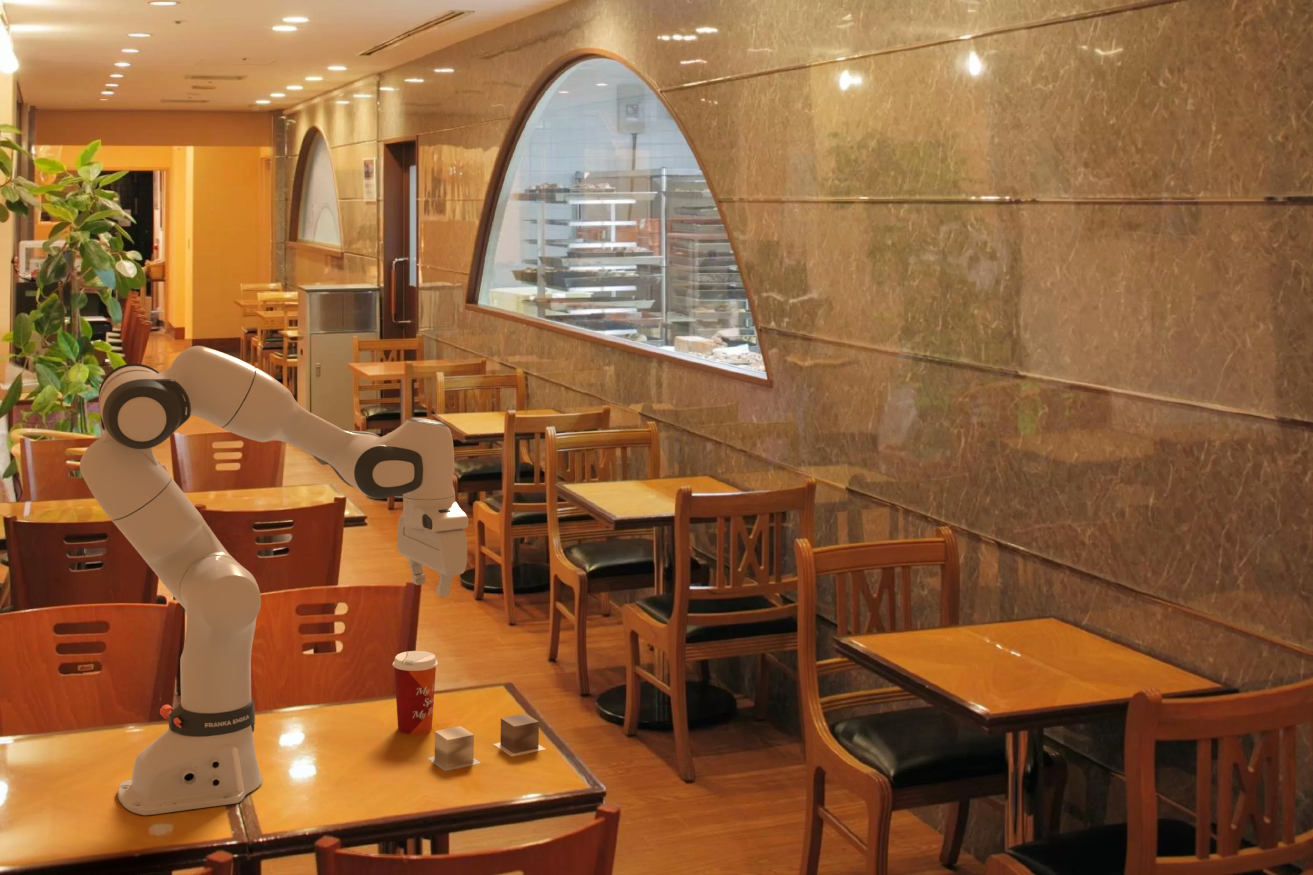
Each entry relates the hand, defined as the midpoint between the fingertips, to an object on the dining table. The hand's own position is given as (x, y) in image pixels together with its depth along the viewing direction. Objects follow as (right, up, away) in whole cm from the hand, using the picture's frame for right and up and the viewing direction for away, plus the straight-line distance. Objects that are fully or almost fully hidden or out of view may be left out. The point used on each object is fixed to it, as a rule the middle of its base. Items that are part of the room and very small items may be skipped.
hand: (430, 589), depth 233 cm
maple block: (+4, -30, +1) cm, 30 cm away
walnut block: (+15, -29, +9) cm, 34 cm away
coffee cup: (-6, -29, +16) cm, 34 cm away
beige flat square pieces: (+10, -31, +5) cm, 33 cm away
